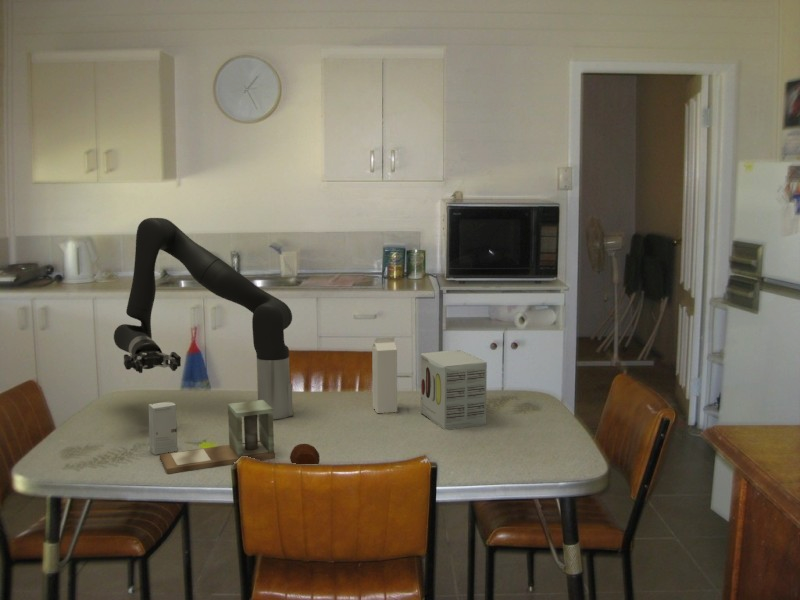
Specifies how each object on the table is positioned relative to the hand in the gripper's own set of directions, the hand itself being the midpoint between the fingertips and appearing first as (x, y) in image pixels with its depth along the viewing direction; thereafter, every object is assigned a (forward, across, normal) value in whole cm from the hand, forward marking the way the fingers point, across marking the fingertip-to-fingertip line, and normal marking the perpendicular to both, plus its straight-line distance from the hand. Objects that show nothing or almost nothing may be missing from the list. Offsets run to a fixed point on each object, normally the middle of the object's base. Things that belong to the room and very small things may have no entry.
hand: (158, 368), depth 215 cm
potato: (+41, +25, +15) cm, 50 cm away
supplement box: (+23, +78, +13) cm, 82 cm away
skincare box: (+11, -1, +18) cm, 22 cm away
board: (+24, +10, +17) cm, 30 cm away
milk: (+7, +65, +15) cm, 67 cm away
